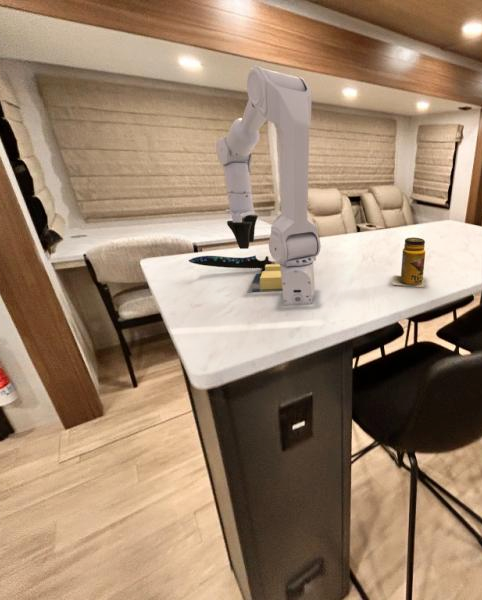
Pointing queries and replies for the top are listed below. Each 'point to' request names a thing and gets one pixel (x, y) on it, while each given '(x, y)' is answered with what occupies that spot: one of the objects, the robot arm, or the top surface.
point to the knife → (232, 262)
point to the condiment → (412, 264)
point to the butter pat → (272, 267)
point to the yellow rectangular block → (271, 280)
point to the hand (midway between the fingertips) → (246, 244)
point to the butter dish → (259, 286)
